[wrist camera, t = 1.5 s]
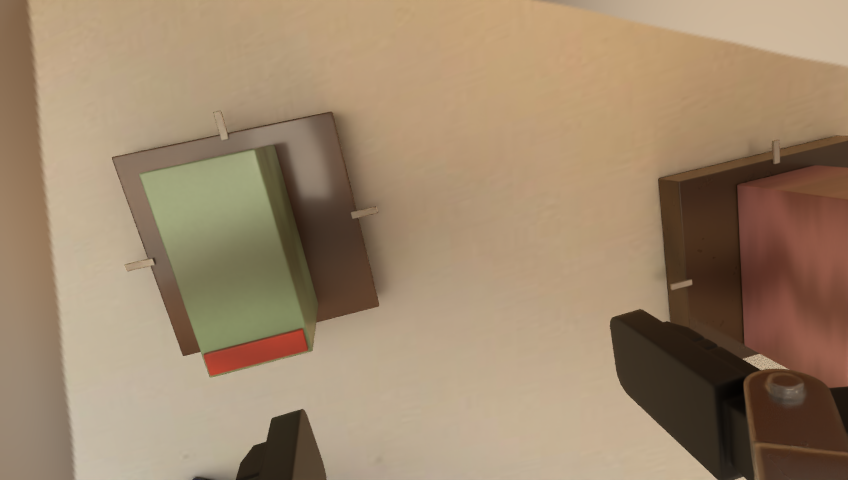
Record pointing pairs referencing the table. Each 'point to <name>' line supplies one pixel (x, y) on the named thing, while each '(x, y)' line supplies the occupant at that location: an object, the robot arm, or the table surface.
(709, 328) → the brown square platform
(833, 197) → the pink rectangular block
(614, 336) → the robot arm
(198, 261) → the green rectangular block
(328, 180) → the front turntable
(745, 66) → the table surface
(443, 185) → the table surface
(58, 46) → the table surface
